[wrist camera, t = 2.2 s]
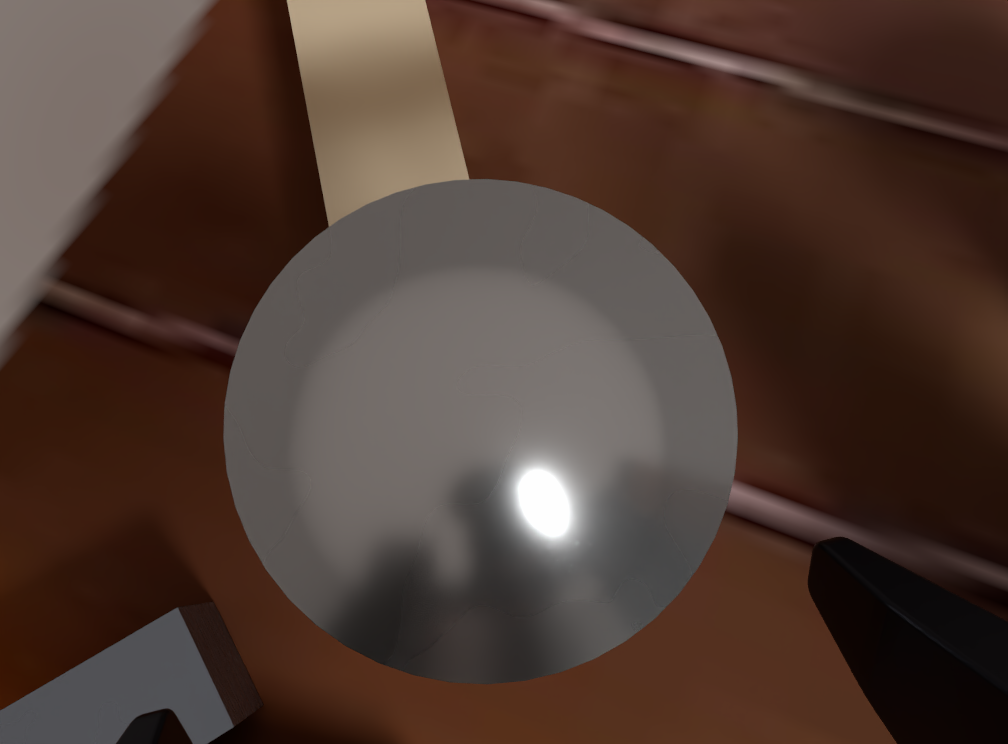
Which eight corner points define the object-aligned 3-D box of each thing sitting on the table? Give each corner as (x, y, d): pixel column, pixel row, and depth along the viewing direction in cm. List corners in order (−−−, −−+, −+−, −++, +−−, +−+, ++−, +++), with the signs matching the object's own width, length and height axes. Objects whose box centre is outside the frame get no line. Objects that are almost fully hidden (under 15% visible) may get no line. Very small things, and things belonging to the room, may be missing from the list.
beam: (489, 322, 21) (495, 284, 18) (360, 348, 21) (344, 313, 18) (413, 6, 24) (407, -69, 21) (298, 22, 24) (276, -53, 21)
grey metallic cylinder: (495, 631, 19) (595, 799, 5) (352, 546, 19) (110, 502, 6) (573, 485, 20) (812, 323, 7) (437, 407, 20) (403, 102, 7)
